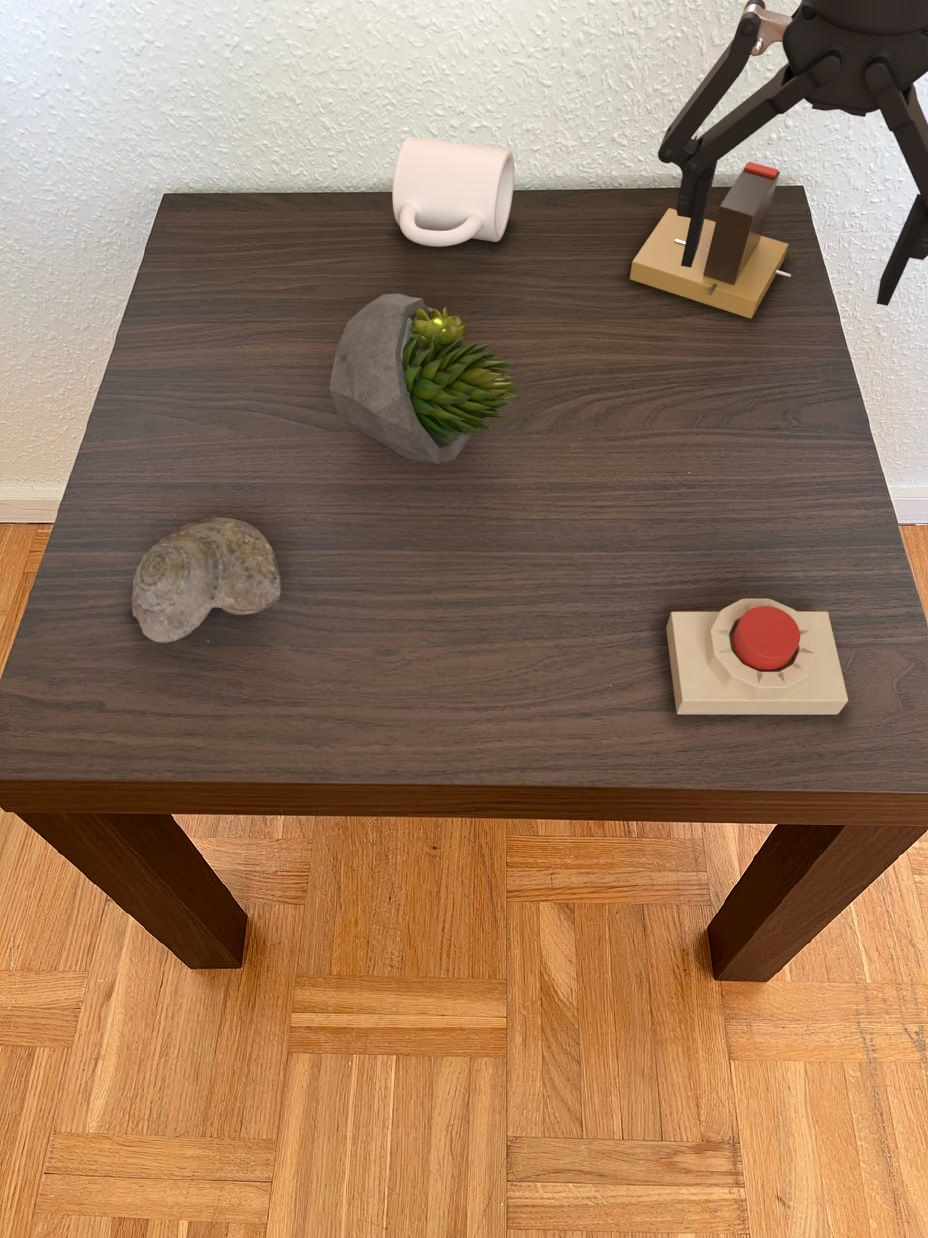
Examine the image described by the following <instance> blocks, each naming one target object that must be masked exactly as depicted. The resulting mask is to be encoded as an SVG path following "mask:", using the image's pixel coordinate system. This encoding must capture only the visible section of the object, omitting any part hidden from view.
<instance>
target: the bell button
mask: <svg viewBox="0 0 928 1238" xmlns="http://www.w3.org/2000/svg"><path fill="white" fill-rule="evenodd" d="M799 642H800V631H799V628H798V625H797V624H796V622H795V621H794V619H793V618H792V617H791V616H790V615H789V614H787V613H786V612H784V611H782V610H780V609H778V608H775V607H770V606H759V607H755V608H752V609H750V610H748V611H747V612H746V613H745V614H744V615H743V616H742V617H741V619H740V621H739V623H738V625H737V627H736V630H735V632H734V635H733V646H734V649H735V651H736V653H737V655H738V656H739V657H740V658H741V660H743V661H744V662H745V663H746V664H748V665H750V666H751V667H754V668H757V669H761V670H774V669H778V668H780V667H782V666H784V665H785V664H787V663H788V661H789V660H790V659H791V657H792V655H793V654H794V652H795V650H796V649H797V647H798V645H799Z"/></svg>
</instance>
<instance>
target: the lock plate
mask: <svg viewBox="0 0 928 1238" xmlns="http://www.w3.org/2000/svg"><path fill="white" fill-rule="evenodd" d="M690 219H691V218H687V217H682V216H678V215H677V210H676V209H674V208H670V207H668V209H667V210H666V212H665V213H664V215H663V216H662V217H661V219H660V220H659V222H658V223H657V225H656V226H655V228H654V229H653V230H652V232H651V234H649V236H648V238H647V239H646V240H645V242H644V244H643V245H642V247H641V248H640V250H639V251H638V253H637V254H636V255H635V257H634V259H632V262H631V267H630V273H629V280H631V281H634V282H637V283H640V284H643V285H645V286H650V287H652V288H654V289H655V288H656V289H659V290H660V291H661V290H662V291H665V292H667V293H671V294H673V295H676V296H680V297H683V298H686V299H690V300H692V301H696V302H698V303H702V304H704V305H708V306H711V307H714V308H717V309H720V310H723V311H725V312H729V313H732V314H734V315H738V316H740V317H743V318H748V319H750V320H751V319H752V318H753V316H754V315H755V313H756V311H757V310H758V308H759V306H760V304H761V302H762V301H763V298H764V297H765V295H766V293H767V291H768V290H769V288H770V286H771V284H772V283H773V281H774V279H775V277H776V275H778V276H782V277H784V278H788V279H791V277H792V274H791V273H788V272H784V271H781V270H780V268H781V266H782V264H783V262H784V261H785V256H786V254H787V251H788V249H789V243H787V242H784V241H780V240H776V239H773V238H771V237H767V236H763V235H761V239H760V242H759V243H758V245H757V247H756V248H755V250H754V252H753V254H752V255H751V257H750V259H749V261H748V262H747V264H746V266H745V268H744V269H743V271H742V273H741V274H740V276H739V278H738V280H737V281H736V283H735V285H732V284H728V283H725V282H722V281H719V280H716V279H713V278H709V277H706V276H703V273H704V269H705V265H706V261H707V257H708V253H709V248H710V244H711V240H712V236H713V232H714V228H715V224H716V221H714V220H710V219H707V218H705V219H704V223H703V228H702V232H701V237H700V241H699V245H698V249H697V252H696V255H695V258H694V261H693V264H692V267H691V268H690V267H685V266H681V262H682V258H683V253H684V248H685V243H686V238H687V234H688V229H689V224H690Z"/></svg>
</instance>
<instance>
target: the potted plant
mask: <svg viewBox="0 0 928 1238" xmlns="http://www.w3.org/2000/svg"><path fill="white" fill-rule="evenodd" d="M447 308H448V307H446V306H445V307H443V310H442V314H441V312H440V311H439V310H437V309H436V308H432V307H429V306H426V304H425V302H424V298H422V297H414V296H409V295H406V294H402V293H387V294H382V295H380V296H378V297H377V298H375V299H374V300H372V301H370V302H369V303H367V304H366V305H364V307H363V308H361V309H360V310H359V311H358V312H357V313H356V314H354V315H353V317H351V318H350V319H349V320H348V321H347V323H346V325H345V327H344V330H343V332H342V335H341V337H340V339H339V342H338V345H337V347H336V348H335V354H334V360H333V364H332V371H331V377H330V382H329V388H328V391H329V394H330V398H331V400H332V402H333V406H334V407H335V411H336V414H337V417H338V420H340V421H341V422H343V423H345V424H347V425H349V426H350V427H352V428H354V429H355V430H357V431H359V432H360V433H362V434H364V435H366V436H368V437H370V438H371V439H374V441H377V442H378V443H380V444H382V445H384V446H386V447H387V448H389V449H391V450H393V451H394V452H396V453H397V454H399V455H400V456H401V457H403V458H404V459H407V460H408V459H409V460H412V461H413V460H414V461H421V462H424V463H430V464H442V463H447V462H452V461H455V460H456V458H457V457H458V456H459V454H461V451H462V450H463V449H464V448H465V446H466V444H467V443H468V442H469V440H470V439H471V437H473V436H476V437H477V436H478V434H476V433H475V432H479V431H481V430H484V431H490V432H493V430H492V429H491V428H489V427H488V426H487V425H485V424H484V423H494V421H493V420H507V419H508V420H509V419H510V417H509V416H505V414H506V412H504V411H499V410H497V409H502V408H504V407H508V406H511V403H512V402H513V401H512V400H509V399H512V398H515V397H518V396H519V395H518V394H515V393H516V392H519V391H521V390H522V388H517V387H516V386H517V385H519V382H513V381H511V379H515V378H516V377H515V376H512V375H508V374H506V373H510V372H511V370H510V369H507V368H508V367H510V366H511V365H512V364H513V362H505V361H504V360H501V359H503V358H504V357H502V356H499V357H495V356H496V355H497V354H498V353H491V352H492V351H490V350H489V351H485V350H486V349H487V348H488V346H490V345H491V344H492V342H489V343H485V344H484V343H483V344H481V345H479V342H474V343H471V344H468V345H465V346H463V347H462V345H463V343H464V340H465V338H466V336H467V333H468V330H467V329H466V326H465V325H464V323H463V321H462V318H460V317H458V316H457V315H451V316H450V313H449V310H448V309H447ZM477 345H478V346H477ZM502 414H504V415H502ZM490 419H491V420H490ZM483 422H484V423H483Z"/></svg>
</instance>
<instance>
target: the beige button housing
mask: <svg viewBox="0 0 928 1238" xmlns="http://www.w3.org/2000/svg"><path fill="white" fill-rule="evenodd" d="M759 606H770V607H775V608H778V609H780V610H782V611H784V612H786V613H787V614H789V615H790V616H791V617H792V618H793V619H794V621H795V622H796V624H797V625H798V628H799V631H800V642H799V645H798V647H797V649H796V650H795V652H794V654H793V655H792V657H791V659H790V660H789V661H788V663H787V664H785V665H784V666H782V667H780V668H778V669H774V670H761V669H757V668H754V667H751V666H750V665H748V664H746V663H745V662H744V661H743V660H741V658H740V657H739V656H738V655H737V653H736V651H735V649H734V646H733V635H734V632H735V630H736V627H737V625H738V623H739V621H740V619H741V617H742V616H743V615H744V614H745V613H746V612H747V611H748V610H750V609H752V608H755V607H759ZM665 628H666V637H667V638H666V639H667V646H668V654H669V655H668V656H669V663H670V671H671V679H672V687H673V696H674V704H675V705H674V706H675V710H676V715H826V716H827V715H828V716H829V715H833V716H834V715H839V714H840V712H841V711H842V710H843V708H844V707H845V706H846V704H847V703H848V702H849V697H848V693H847V689H846V684H845V680H844V676H843V675H844V674H843V671H842V668H841V662H840V657H839V653H838V649H837V645H836V640H835V637H834V636H835V635H834V633H833V629H832V624H831V619H830V614H829V612H828V611H797V610H795V608H792V607H789V606H787V605H785V604H783V603H780V602H778V601H776V600H774V599H771V598H741V599H738V601H735V602H733V603H731V604H730V605H728V606H726V607H724V608H722V609H721V610H720V611H671V612H670V615H669V618H668V621H667V624H666V627H665Z"/></svg>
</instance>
